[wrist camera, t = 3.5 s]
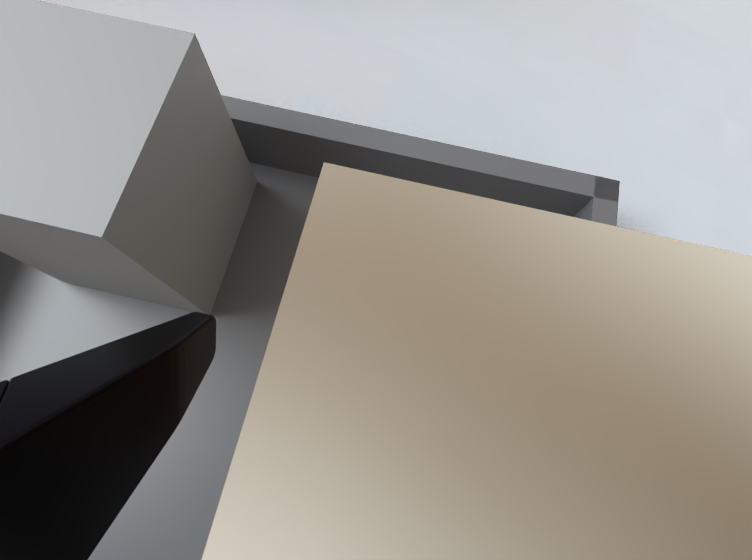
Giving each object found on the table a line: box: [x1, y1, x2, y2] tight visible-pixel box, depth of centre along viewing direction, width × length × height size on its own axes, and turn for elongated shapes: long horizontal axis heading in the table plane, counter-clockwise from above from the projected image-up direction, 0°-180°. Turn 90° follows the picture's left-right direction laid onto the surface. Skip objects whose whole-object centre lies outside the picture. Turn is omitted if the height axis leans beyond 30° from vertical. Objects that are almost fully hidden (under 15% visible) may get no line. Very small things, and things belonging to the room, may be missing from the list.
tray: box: [0, 95, 620, 560], centre depth 15 cm, size 17×22×3 cm
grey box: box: [0, 0, 257, 315], centre depth 14 cm, size 6×6×7 cm
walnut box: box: [201, 162, 752, 560], centre depth 9 cm, size 4×4×12 cm
